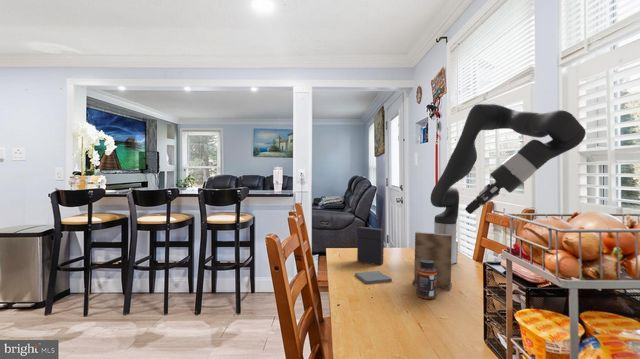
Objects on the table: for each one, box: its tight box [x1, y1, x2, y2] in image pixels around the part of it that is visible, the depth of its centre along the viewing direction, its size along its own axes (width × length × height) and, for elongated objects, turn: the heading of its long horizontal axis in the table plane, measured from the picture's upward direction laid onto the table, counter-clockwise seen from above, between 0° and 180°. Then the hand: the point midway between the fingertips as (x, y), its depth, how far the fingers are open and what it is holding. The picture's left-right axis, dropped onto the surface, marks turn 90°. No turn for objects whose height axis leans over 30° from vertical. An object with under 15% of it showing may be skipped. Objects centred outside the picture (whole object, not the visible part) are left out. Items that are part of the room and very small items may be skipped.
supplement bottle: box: [416, 260, 437, 300], centre depth 107 cm, size 6×6×11 cm
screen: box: [412, 231, 453, 291], centre depth 118 cm, size 12×5×18 cm, turn 63°
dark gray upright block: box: [356, 226, 385, 266], centre depth 146 cm, size 11×4×15 cm, turn 58°
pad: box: [354, 270, 393, 285], centre depth 125 cm, size 10×10×1 cm
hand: (468, 210), depth 102 cm, fingers open, 8 cm apart
